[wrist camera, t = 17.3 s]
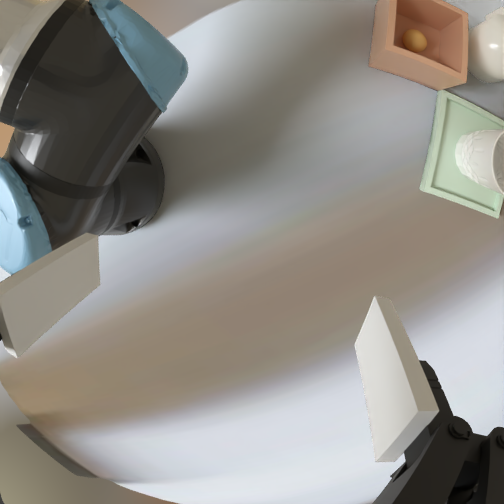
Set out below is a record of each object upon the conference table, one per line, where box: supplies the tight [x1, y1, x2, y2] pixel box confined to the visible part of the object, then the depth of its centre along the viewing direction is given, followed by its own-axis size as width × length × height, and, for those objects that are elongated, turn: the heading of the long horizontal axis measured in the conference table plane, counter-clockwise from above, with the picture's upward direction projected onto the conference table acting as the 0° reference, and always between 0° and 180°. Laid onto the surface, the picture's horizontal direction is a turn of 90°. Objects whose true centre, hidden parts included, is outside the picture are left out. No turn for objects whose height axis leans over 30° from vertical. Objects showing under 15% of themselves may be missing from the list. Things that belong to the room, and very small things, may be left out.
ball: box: [402, 29, 427, 52], centre depth 26 cm, size 3×3×3 cm
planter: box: [369, 0, 468, 91], centre depth 24 cm, size 10×10×8 cm
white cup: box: [455, 129, 504, 195], centre depth 26 cm, size 8×8×10 cm
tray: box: [420, 90, 504, 219], centre depth 31 cm, size 14×14×2 cm
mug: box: [467, 7, 504, 83], centre depth 21 cm, size 8×11×9 cm
